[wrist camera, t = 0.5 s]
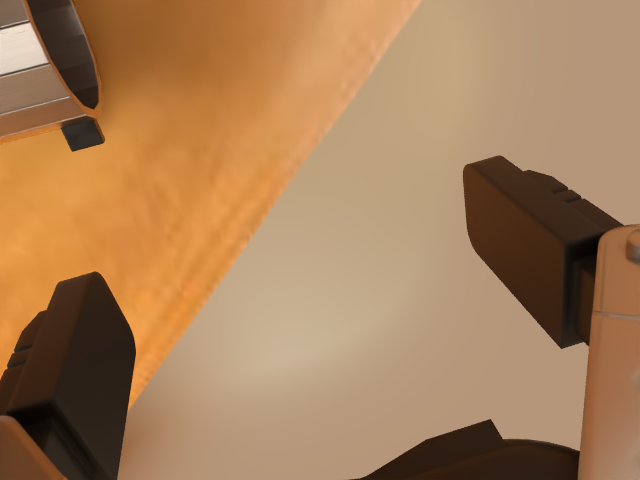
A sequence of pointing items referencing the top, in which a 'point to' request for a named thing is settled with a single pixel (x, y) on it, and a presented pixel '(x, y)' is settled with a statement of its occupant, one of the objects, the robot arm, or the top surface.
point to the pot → (47, 73)
